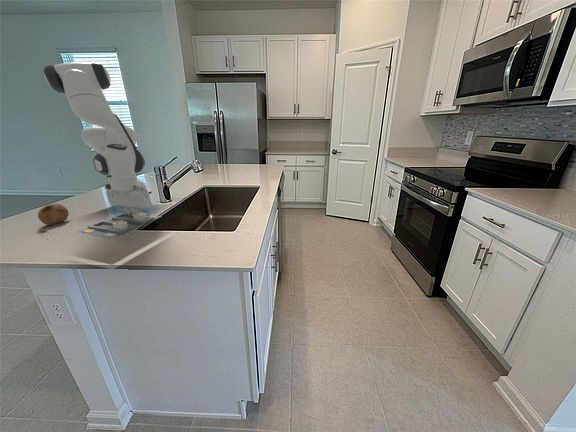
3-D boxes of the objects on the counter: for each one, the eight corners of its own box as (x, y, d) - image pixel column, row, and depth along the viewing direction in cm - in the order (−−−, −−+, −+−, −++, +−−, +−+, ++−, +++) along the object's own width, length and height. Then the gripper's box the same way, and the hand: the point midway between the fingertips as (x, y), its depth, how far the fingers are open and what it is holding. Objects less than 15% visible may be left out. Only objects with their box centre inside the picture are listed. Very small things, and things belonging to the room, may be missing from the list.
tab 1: (120, 227, 98) (118, 219, 96) (128, 228, 97) (126, 220, 95) (113, 230, 95) (111, 221, 94) (121, 231, 94) (119, 223, 93)
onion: (58, 233, 102) (45, 217, 95) (39, 225, 103) (25, 209, 96) (78, 218, 108) (67, 202, 101) (60, 211, 109) (49, 195, 102)
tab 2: (140, 218, 107) (138, 210, 106) (147, 219, 106) (145, 211, 104) (134, 220, 104) (132, 213, 103) (141, 222, 103) (139, 214, 102)
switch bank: (131, 214, 115) (130, 209, 114) (162, 218, 110) (161, 214, 110) (78, 234, 94) (76, 229, 93) (113, 241, 89) (111, 235, 88)
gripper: (152, 185, 100) (158, 216, 105) (114, 181, 106) (122, 211, 111) (139, 188, 95) (146, 221, 99) (100, 184, 100) (109, 215, 105)
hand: (133, 216), depth 105 cm, fingers closed
